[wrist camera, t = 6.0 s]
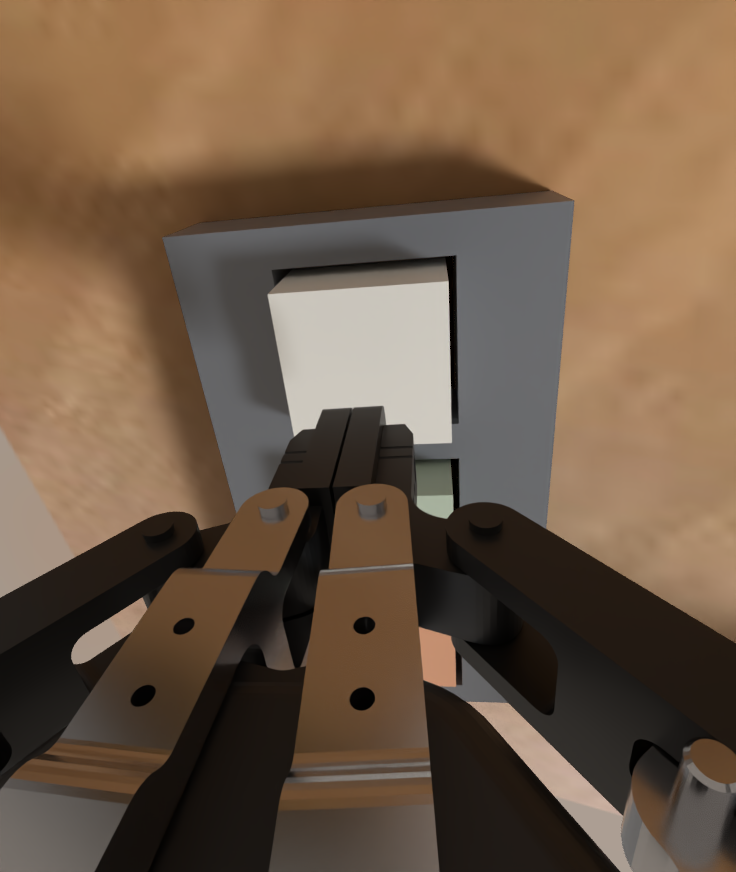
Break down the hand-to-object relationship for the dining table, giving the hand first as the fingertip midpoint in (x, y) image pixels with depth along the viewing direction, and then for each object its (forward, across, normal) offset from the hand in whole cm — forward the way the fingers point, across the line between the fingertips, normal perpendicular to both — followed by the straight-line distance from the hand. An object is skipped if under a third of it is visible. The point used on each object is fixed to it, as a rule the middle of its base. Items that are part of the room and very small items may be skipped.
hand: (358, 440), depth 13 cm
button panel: (+8, 0, +6) cm, 10 cm away
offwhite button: (+6, 0, -1) cm, 6 cm away
